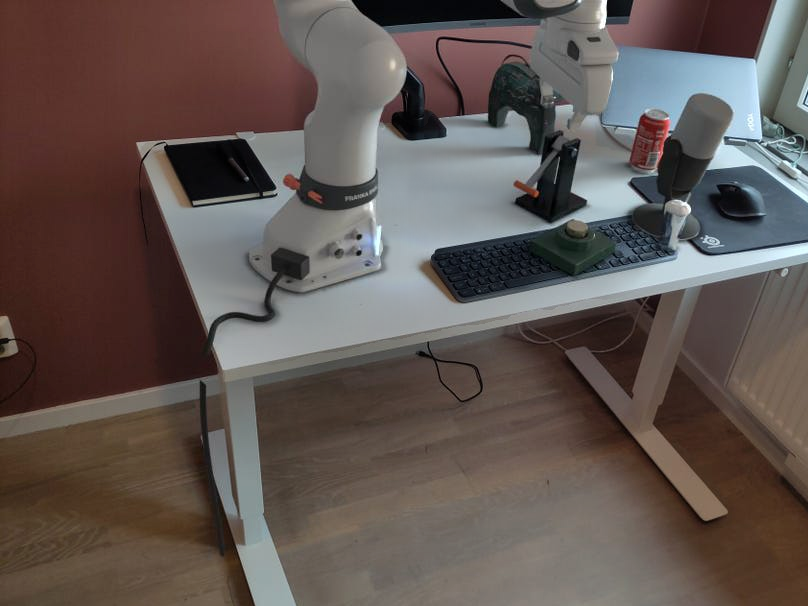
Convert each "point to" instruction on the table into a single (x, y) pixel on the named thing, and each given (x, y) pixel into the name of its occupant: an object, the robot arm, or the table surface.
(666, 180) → the microphone
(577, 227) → the button
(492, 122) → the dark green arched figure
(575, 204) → the switch bracket
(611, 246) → the button housing
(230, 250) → the table surface
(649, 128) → the beverage can
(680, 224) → the milkshake
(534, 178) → the switch lever
